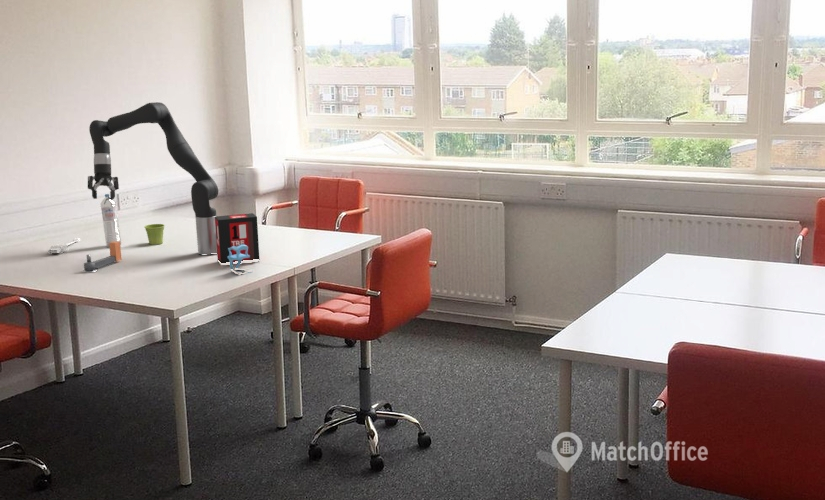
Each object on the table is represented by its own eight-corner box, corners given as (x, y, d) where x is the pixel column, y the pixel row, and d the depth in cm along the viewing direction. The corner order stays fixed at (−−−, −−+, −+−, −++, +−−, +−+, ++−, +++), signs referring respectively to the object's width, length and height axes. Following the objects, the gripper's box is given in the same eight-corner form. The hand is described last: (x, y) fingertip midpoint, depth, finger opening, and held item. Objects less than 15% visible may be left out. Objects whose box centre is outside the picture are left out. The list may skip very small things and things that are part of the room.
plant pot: (162, 245, 424) (161, 227, 422) (143, 246, 424) (141, 228, 422) (168, 241, 433) (167, 223, 431) (149, 241, 433) (147, 224, 431)
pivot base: (99, 269, 381) (97, 253, 380) (95, 272, 375) (93, 256, 374) (85, 269, 381) (83, 253, 379) (80, 273, 375) (78, 256, 373)
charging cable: (84, 242, 439) (83, 235, 439) (58, 255, 408) (57, 247, 407) (74, 242, 439) (73, 236, 439) (47, 255, 408) (46, 248, 407)
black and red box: (221, 266, 383) (218, 220, 378) (217, 261, 391) (214, 216, 386) (259, 262, 388) (256, 216, 384) (255, 257, 396) (252, 213, 392)
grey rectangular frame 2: (106, 266, 386) (106, 264, 386) (98, 265, 388) (98, 264, 388) (116, 262, 392) (116, 261, 392) (107, 262, 393) (107, 260, 393)
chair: (240, 269, 377) (238, 241, 374) (253, 271, 372) (251, 243, 369) (225, 272, 371) (223, 244, 368) (238, 275, 366) (237, 247, 363)
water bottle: (123, 243, 427) (116, 192, 420) (117, 247, 421) (110, 196, 413) (110, 243, 428) (102, 192, 421) (104, 247, 422) (96, 196, 414)
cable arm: (90, 271, 375) (88, 251, 373) (82, 270, 377) (80, 251, 375) (122, 260, 393) (121, 241, 392) (114, 259, 395) (112, 241, 393)
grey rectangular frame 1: (98, 269, 381) (97, 267, 381) (89, 268, 383) (89, 267, 383) (107, 265, 387) (107, 264, 387) (99, 264, 388) (99, 263, 388)
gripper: (91, 162, 407) (93, 198, 407) (120, 163, 418) (122, 198, 418) (83, 164, 412) (85, 199, 412) (112, 165, 423) (113, 199, 423)
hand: (103, 198), depth 415 cm, fingers open, 8 cm apart
